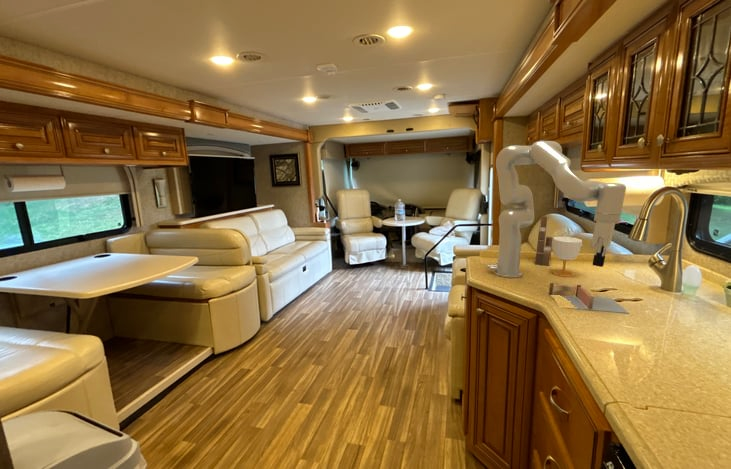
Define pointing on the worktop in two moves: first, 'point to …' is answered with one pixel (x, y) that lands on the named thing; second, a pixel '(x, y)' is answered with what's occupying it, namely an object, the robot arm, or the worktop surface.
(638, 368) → the worktop surface
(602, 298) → the card
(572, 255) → the cup
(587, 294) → the bar
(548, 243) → the wooden toy
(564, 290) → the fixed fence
